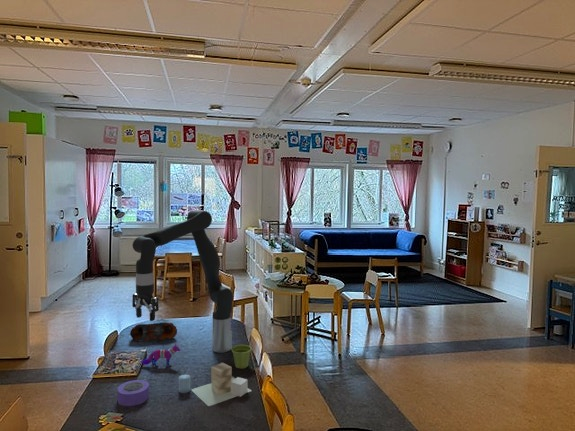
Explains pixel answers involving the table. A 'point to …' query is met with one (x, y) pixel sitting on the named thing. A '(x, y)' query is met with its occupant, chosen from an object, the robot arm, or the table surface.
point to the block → (239, 386)
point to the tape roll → (133, 393)
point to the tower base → (221, 387)
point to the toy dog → (161, 355)
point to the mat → (212, 394)
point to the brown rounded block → (153, 332)
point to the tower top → (221, 373)
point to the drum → (184, 383)
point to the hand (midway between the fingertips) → (145, 318)
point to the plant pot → (241, 355)
